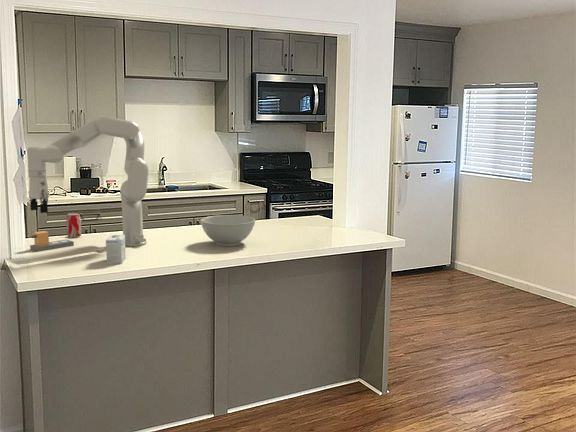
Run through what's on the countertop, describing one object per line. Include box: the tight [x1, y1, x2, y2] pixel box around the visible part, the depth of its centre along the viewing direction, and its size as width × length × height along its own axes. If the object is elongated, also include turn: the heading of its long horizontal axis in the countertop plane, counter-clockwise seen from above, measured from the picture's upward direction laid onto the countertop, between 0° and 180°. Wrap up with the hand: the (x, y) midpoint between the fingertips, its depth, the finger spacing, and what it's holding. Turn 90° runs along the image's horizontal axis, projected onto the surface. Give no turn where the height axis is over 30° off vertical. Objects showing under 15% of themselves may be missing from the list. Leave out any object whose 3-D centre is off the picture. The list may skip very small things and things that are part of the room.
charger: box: [30, 230, 50, 247], centre depth 300 cm, size 4×7×8 cm, turn 136°
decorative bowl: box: [200, 214, 256, 247], centre depth 320 cm, size 27×27×12 cm
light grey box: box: [105, 234, 127, 265], centre depth 285 cm, size 11×7×11 cm, turn 5°
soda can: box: [65, 212, 82, 239], centre depth 335 cm, size 7×7×12 cm
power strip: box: [29, 239, 75, 253], centre depth 305 cm, size 7×18×4 cm, turn 136°
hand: (39, 211), depth 298 cm, fingers open, 9 cm apart
